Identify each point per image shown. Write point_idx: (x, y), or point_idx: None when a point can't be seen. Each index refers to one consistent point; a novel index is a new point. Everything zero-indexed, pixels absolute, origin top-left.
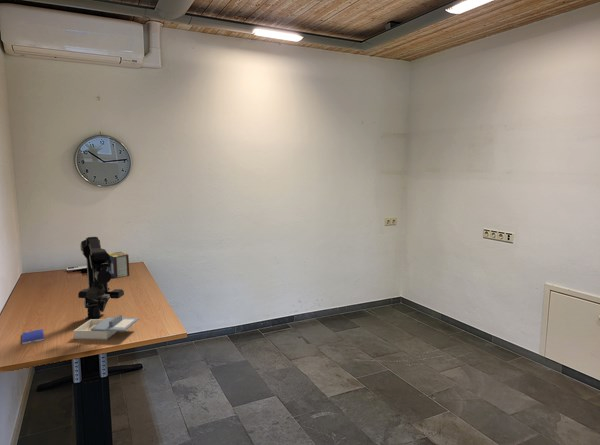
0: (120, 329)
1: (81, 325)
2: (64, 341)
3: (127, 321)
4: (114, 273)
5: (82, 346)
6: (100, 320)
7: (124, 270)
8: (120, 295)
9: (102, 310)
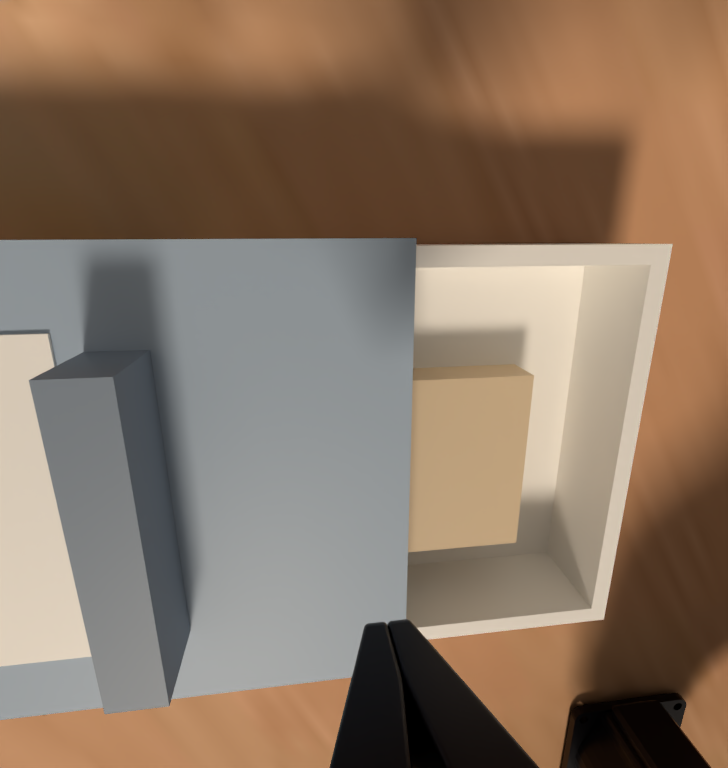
0: None
1: (635, 432)
2: (671, 172)
3: None
4: None
5: (388, 8)
6: (475, 615)
7: None
8: None
9: (365, 649)
